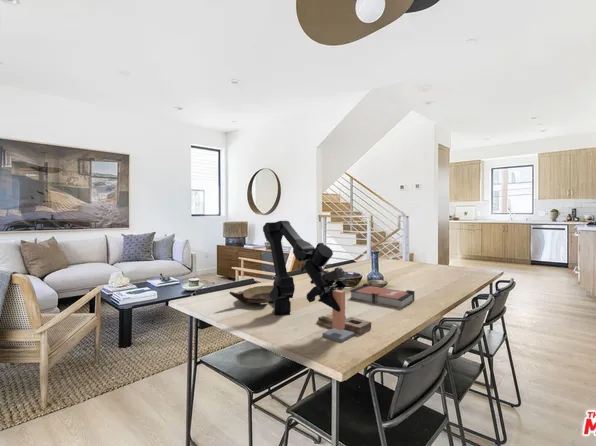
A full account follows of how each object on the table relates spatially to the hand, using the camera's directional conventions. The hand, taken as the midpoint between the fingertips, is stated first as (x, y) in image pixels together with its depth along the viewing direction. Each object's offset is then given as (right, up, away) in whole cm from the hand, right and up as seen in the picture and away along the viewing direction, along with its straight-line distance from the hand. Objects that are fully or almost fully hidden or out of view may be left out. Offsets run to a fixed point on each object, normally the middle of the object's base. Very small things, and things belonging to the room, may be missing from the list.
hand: (342, 310), depth 114 cm
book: (+26, -8, +48) cm, 55 cm away
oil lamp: (-34, -8, +43) cm, 56 cm away
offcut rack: (+2, -9, +11) cm, 15 cm away
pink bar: (-1, -7, +1) cm, 7 cm away
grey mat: (-1, -9, +1) cm, 9 cm away
